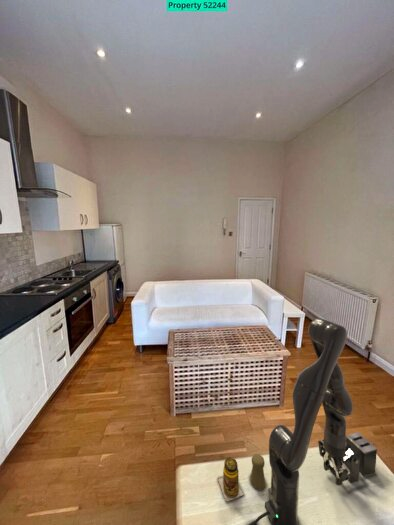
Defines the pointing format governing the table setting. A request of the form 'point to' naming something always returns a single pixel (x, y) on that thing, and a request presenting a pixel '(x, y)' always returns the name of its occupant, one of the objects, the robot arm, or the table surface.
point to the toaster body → (363, 452)
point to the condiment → (230, 480)
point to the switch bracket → (353, 466)
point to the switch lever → (346, 458)
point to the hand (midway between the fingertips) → (332, 476)
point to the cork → (257, 472)
